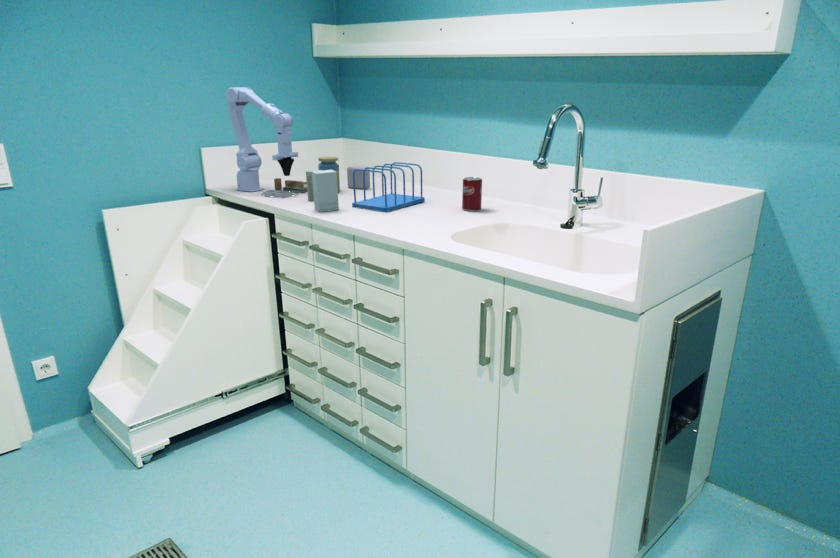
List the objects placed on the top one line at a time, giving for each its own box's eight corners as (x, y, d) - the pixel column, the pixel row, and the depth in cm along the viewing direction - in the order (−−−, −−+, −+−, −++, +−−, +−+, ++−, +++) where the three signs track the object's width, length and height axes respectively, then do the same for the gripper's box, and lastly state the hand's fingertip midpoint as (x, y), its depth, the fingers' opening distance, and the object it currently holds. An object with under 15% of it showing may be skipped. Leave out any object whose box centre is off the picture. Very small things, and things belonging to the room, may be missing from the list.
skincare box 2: (334, 207, 228) (332, 169, 223) (339, 210, 223) (337, 171, 218) (313, 209, 224) (311, 170, 219) (318, 212, 219) (315, 172, 214)
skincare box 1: (325, 199, 243) (323, 169, 239) (322, 201, 239) (321, 171, 235) (310, 199, 244) (308, 169, 240) (307, 201, 240) (305, 171, 236)
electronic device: (346, 188, 269) (345, 166, 266) (352, 186, 273) (352, 165, 270) (363, 190, 264) (363, 167, 261) (370, 188, 268) (369, 166, 265)
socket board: (261, 195, 251) (261, 191, 251) (271, 193, 257) (271, 189, 256) (283, 198, 246) (283, 194, 246) (293, 195, 252) (293, 191, 251)
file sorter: (391, 197, 248) (391, 161, 243) (425, 202, 239) (425, 164, 234) (351, 207, 229) (350, 167, 224) (386, 213, 219) (385, 171, 215)
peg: (273, 192, 258) (272, 179, 256) (278, 191, 260) (277, 178, 258) (279, 193, 256) (278, 179, 255) (283, 192, 259) (282, 178, 257)
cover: (285, 187, 260) (284, 180, 259) (298, 184, 268) (297, 177, 267) (301, 189, 257) (301, 182, 256) (314, 186, 264) (313, 179, 263)
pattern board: (282, 191, 261) (282, 187, 260) (309, 184, 277) (308, 181, 276) (303, 193, 256) (302, 189, 256) (328, 186, 272) (328, 182, 272)
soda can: (468, 212, 220) (469, 180, 216) (458, 208, 226) (459, 177, 222) (484, 210, 223) (486, 179, 219) (474, 207, 229) (475, 176, 225)
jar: (332, 189, 266) (331, 156, 261) (344, 192, 259) (342, 157, 254) (315, 191, 260) (313, 157, 255) (326, 194, 253) (324, 159, 249)
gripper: (280, 145, 240) (283, 178, 244) (302, 142, 252) (304, 174, 256) (267, 144, 243) (270, 177, 247) (289, 141, 255) (292, 172, 259)
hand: (286, 175), depth 252 cm, fingers closed
